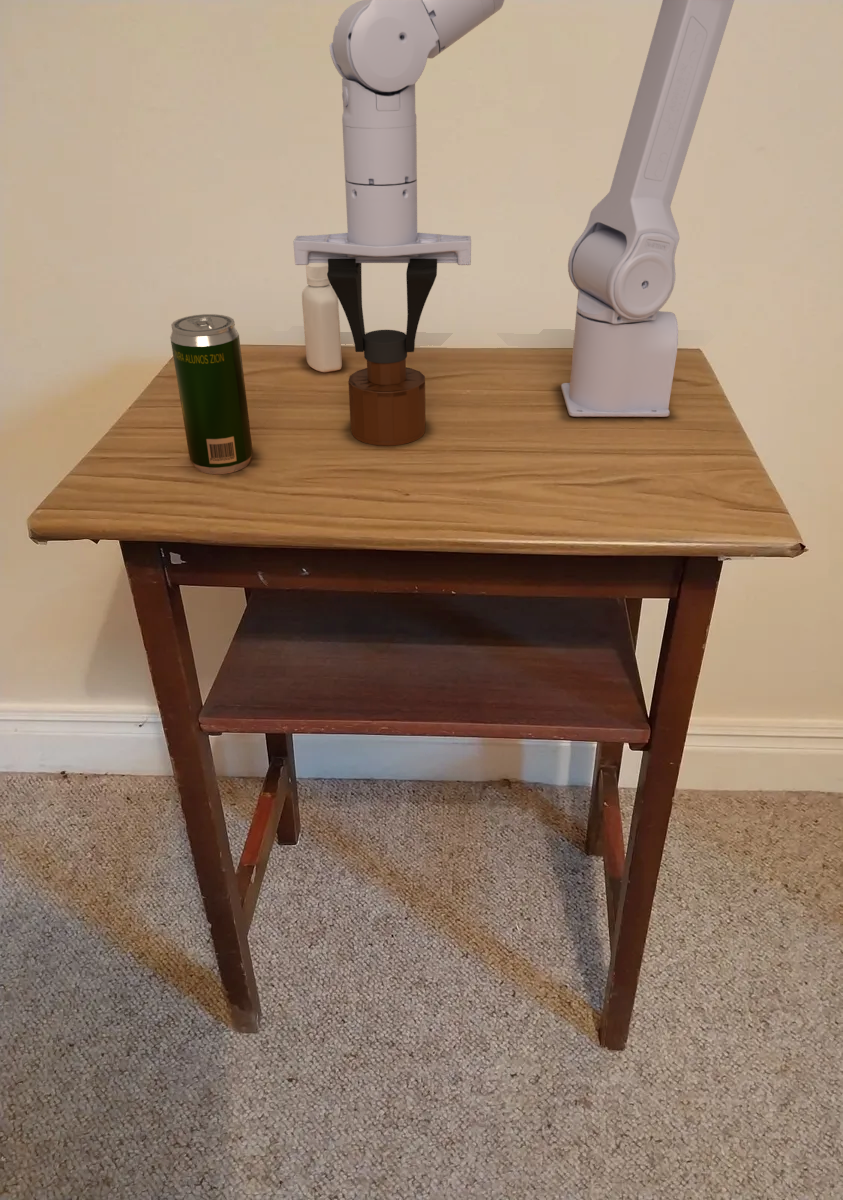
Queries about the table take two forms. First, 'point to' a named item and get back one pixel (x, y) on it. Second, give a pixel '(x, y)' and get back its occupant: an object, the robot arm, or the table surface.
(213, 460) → the beer can
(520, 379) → the table surface
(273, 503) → the table surface
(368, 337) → the cylinder
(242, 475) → the table surface
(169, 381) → the table surface
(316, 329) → the eye dropper bottle
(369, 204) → the robot arm
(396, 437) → the amber bottle
